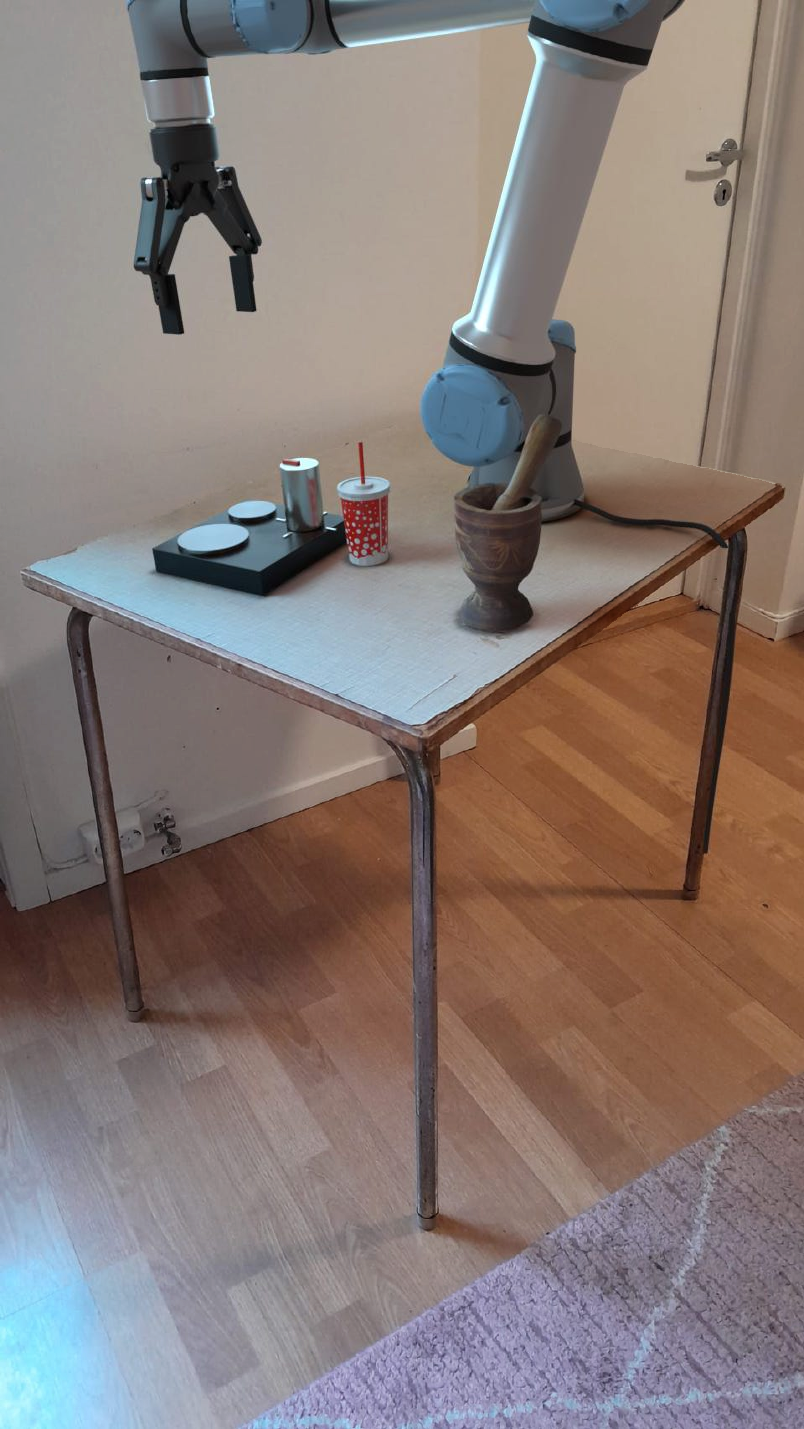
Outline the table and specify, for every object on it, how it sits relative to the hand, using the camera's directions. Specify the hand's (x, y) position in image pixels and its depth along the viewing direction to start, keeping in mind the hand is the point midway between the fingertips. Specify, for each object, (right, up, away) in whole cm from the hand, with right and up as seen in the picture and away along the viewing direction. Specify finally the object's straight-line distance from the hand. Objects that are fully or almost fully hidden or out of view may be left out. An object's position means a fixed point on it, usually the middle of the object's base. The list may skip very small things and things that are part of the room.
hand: (211, 322), depth 128 cm
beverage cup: (+19, -30, -4) cm, 36 cm away
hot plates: (+3, -26, -2) cm, 26 cm away
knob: (+12, -25, -2) cm, 28 cm away
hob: (+6, -29, -2) cm, 30 cm away
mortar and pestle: (+34, -37, -18) cm, 54 cm away
